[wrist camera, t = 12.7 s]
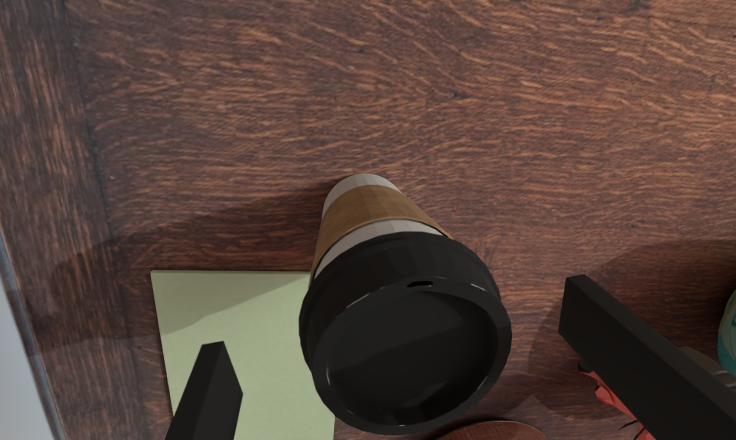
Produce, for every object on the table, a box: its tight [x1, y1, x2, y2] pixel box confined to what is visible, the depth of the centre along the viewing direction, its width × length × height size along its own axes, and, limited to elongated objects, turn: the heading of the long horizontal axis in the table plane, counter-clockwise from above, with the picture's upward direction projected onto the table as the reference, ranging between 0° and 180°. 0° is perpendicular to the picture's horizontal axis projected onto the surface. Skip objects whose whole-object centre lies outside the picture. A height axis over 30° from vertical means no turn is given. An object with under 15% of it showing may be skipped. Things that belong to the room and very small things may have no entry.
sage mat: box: [150, 270, 335, 440], centre depth 30 cm, size 20×14×1 cm
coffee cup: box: [299, 174, 512, 435], centre depth 19 cm, size 8×8×15 cm
